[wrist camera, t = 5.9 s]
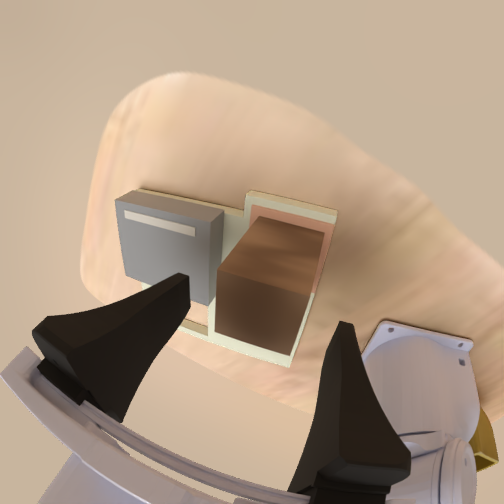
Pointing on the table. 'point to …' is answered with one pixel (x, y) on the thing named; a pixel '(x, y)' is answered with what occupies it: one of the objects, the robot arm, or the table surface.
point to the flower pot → (484, 444)
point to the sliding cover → (171, 241)
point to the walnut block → (267, 284)
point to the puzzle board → (232, 233)
